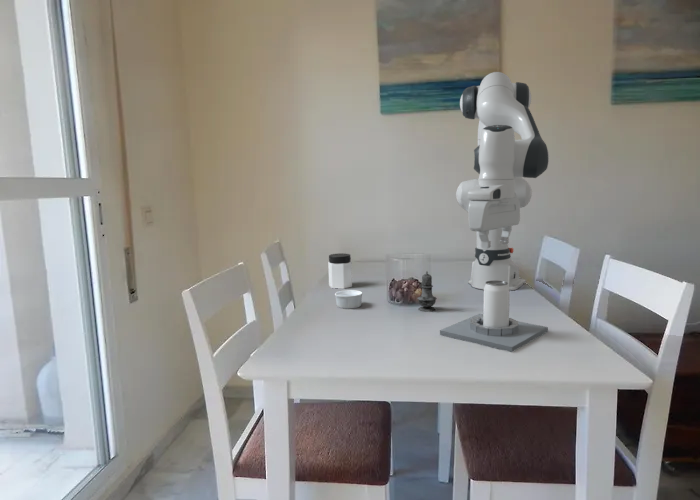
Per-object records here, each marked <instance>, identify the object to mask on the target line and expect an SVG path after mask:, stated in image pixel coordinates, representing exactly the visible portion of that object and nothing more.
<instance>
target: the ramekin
mask: <svg viewBox="0 0 700 500" xmlns="http://www.w3.org/2000/svg"><path fill="white" fill-rule="evenodd" d="M334 296H335V303H336V306H337V308H340V309H343V310H347V309H348V310H349V309H351V310H353V309H356V308H360V307H361V306H362V301H363V300H362V299H363V292H362V291H360V290H355V289H347V290H346V289H345V290H343V289H342V290H340V291H339V290H338V291H336V292H335V293H334Z"/></svg>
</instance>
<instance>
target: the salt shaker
mask: <svg viewBox="0 0 700 500" xmlns="http://www.w3.org/2000/svg"><path fill="white" fill-rule="evenodd" d="M432 280H433V277H432V275H431V274H429V272H428V271H426V272H425V274H423V275H422V277H421V285H420V287H421V295H420V296H417V300H418V301H417V302H418V304H419V305H420V307H418V311H420V312H425V313H427V312H429V313H430V312H435V311H436V307H434V305H435V303H436V300H437V297H436V296H434V295H433V287H434V285H433V284H432Z"/></svg>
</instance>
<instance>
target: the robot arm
mask: <svg viewBox="0 0 700 500" xmlns="http://www.w3.org/2000/svg"><path fill="white" fill-rule="evenodd" d="M531 104H532V94H531V90H530V88H529V85H528V84H527V83H525V82H518V81H516V82H512V81H511V79H510V77H509V76H508V75H507V74H505V73H503V72H501V71H493V72H490V73H488V74H487V75H485V76H484V77H483V78H482V80H481V82H480V85H472V86H468V87H466V88H465V89H464V90H463V91H462V94H461V96H460V99H459V107H460V111H461V113H462V116H463V117H464V118H465V119H468V120H475V119H477V120H478V119H479V121H478V125H477V147H476V148H474V149H473V152H474V164H473V170H474V171H475V172H477V173H478V174H479V175H478V178H473V179H468V180H463V181H461V182H460V183H459V184H458V187H456V191H455V198H456V201H457V203H458V205H459V206H460V207H461V208H462V209H464V211H466V212H467V213H468V217H467V218H468V228H469V229H470V231H471V232H475V236H476V237H475V239H476V240H475V241H476V247H475V248H474V249H475V250H474V257H475V260H473V261H472V265H471V274H470V279H468V285H469V284H470V285H471V287H473V288H475V289H479V290H484V287H485V285H486V282H487V281H493V280H497V281H505V282H507V283H508V287H509V290H510V291H515V290H518V289H519V288H521V286H523V285H524V284H526V282H527V281H526V279H524V278H520V268H519V265H517V264H516V263H515V262H514V260H512V257H511V255H512V254H513V253H514V251H515V250H514V248H513V247H509V244H510V236H511V232H512V228H513V226H518V225H519V224H520V222H521V208H525V207H526V206H527V205H528V204H529V203H530V201H531V199H532V196H533V195H532V194H533V191H532V187H531V185H530V183H529V182H528V181H527V180H526V179H525V178H529V179H537V178H538V177H539V176H541V175H542V174H543V173H544V172H546V171H547V170H548V168H549V167H548V166H549V161H550V155H549V149H548V146H547V143H546V142H545V140H543V138H542V136H541V133H540V131H539V129H538V127H537V124H536V121H535V119H534V117H533V114H532V112H531V110H530V109H529V108H530V106H531ZM516 133H517V134H518V135H519V136H520V138H521V139H516V137H515V134H516ZM523 283H524V284H523Z"/></svg>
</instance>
